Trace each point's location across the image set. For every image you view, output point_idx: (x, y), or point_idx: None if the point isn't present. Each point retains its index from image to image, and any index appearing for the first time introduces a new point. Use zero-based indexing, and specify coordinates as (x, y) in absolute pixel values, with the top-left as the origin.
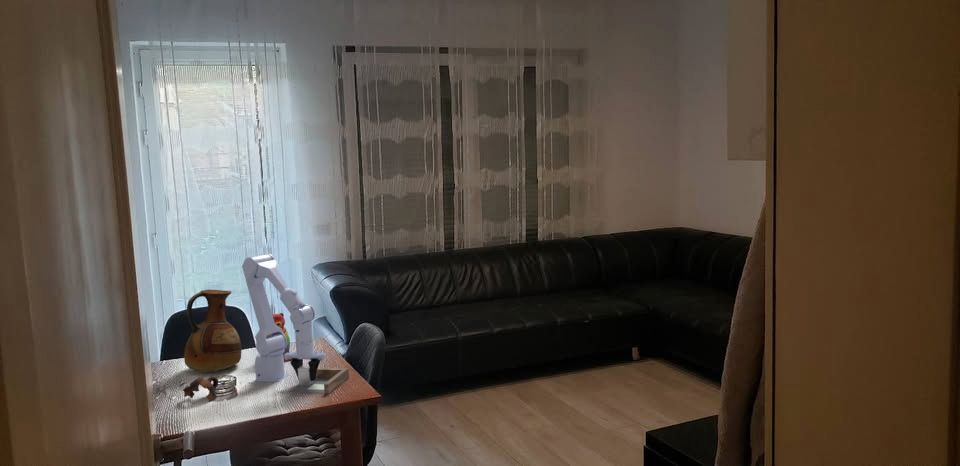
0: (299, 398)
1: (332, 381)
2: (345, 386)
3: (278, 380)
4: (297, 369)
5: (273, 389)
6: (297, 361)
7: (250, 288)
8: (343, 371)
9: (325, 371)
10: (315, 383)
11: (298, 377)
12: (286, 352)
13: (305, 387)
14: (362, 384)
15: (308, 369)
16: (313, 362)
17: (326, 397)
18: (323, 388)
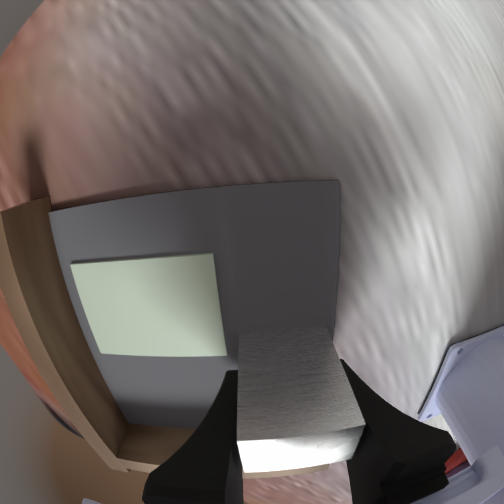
0: (177, 72)
1: (5, 293)
2: None
3: (456, 348)
4: (368, 417)
5: (457, 235)
6: (388, 484)
7: None
8: (90, 441)
9: None
10: (226, 370)
11: (346, 371)
12: None
13: (253, 295)
14: (18, 362)
15: (241, 433)
16: (150, 494)
17: (22, 154)
18: (102, 286)
